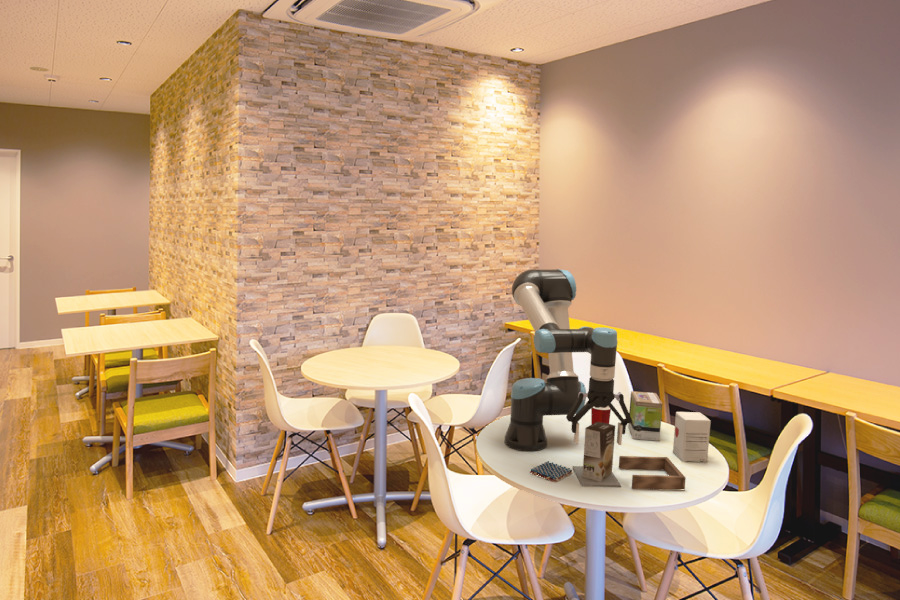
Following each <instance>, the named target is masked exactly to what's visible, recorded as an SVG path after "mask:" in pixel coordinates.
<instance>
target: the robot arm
mask: <svg viewBox="0 0 900 600" xmlns="http://www.w3.org/2000/svg"><path fill="white" fill-rule="evenodd" d="M511 295H512V298H513V300H514V302H515V303H516V304H517V305H518V306H520V307H521V308H522V310H523V312H524V314H525V315H526V318H527V319H528V321H529V323H530V325H531V327H532V329H533V330H534V332H535V333H534V335H533V344H534V349H535V351H537V352H538V353H541V354H542V353H544V354H548V365H549V366H548V367H549V374H548V375H547V377H546V378H545V379H546V381H545V380H544V379H542V378H538V377H535V378H534V377H526V378H521V379H518V380H516V381H515V382H514V383H513V384H512V386H511V394H510V422H509V424H508V427H507V430H506V433H505V435H504V444H505V446H508V447H509V448H511V449H514V450H518V451H523V452H534V451H540V450H544V449H545V448H547V445H548V440H547V439H548V438H547V435H546V431H545V427H544V416H545V417H546V416H564V415H566V417H565V418H566V420H567V421H568V422H571V429H570V430H571V433H573V434H574V435H573V442H574V444H575V445H578V444H579V435H580V434H579V433H580V423H579V421H580V420H581V419H582V418H584V416H585V415H586V414H587V413H588V412H589V411H590V410H591V409H592V408H593V407H596V408H599V407H602V408H606V407H607V406H609V407H610V409H611V411H612V412H613V414H614V415H615V416H616V417H617V419H618V420H619V421H620V422H618V423H617V432H616V433H617V434H616V444H617V445H618V446H622V444H623V443H622V439H623V435H625V434H626V430H627V429H626V428H627V426H628V423H632V419H631V417H630V414H629V410H628V407H627V406H626V404H625V400H624V399H625V398H624V395H623V393H622V392H620V391H619V392H618V393H614V390H615V379H614V378H615V377H616V376H615V373H616V361H617V348H618V332H617V330H616V329H614V328H610V327H595V328H593V327H591V326H590V327H589V326H581V327H579V328H570V317H569V307H571V305H572V301H574V299H575V298H576V295H577V283H576V280H575V277H574V275H573V274H572V273H571V272H570V270H566V269H535V268H534V269H533V268H531V269H527V270H524V271H522V272H521V273H519V274H518V276H516V277H515V279H514V281H513V283H512V286H511ZM573 353H588V354H590V361H589V362H590V364H589V367H590V368H589V376H590V377H589V381H588V392H587V389H586V387H585V383H584V382H582V381H579V376H578V375H577V374H576V372H574V362H573V361H574V360H573V359H574V358H573ZM586 399H587V400H588V401H586ZM614 399H615V400H616V401H617V402H618V404H619V406H620V408H621V410H622V413H623V415H624V417H625V418H623V416H622V415H621V414H620V412H619V411H618V410H617V409H616V408H615V406H614V405H613V404H612V402H613V401H614Z"/></svg>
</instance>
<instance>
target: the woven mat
mask: <svg viewBox="0 0 900 600" xmlns="http://www.w3.org/2000/svg"><path fill="white" fill-rule="evenodd" d="M530 473H532V474H531V475H533V474H534V475H533V476H536V475H538V474H539V475H538V476H537V477H539V476H541V477H543V478H542V479H544V478H545V480H547V481H549V480H550V482H552V483H555V484H556V483H557V482H560V481H561V480H563V479H564V478H566V477H568V476H569V477H570V476H571V475H573V469H571V468H568V467H566V466H562V464H560V465H559V464H558V463H554V462H550V461H549V460H548V461H544V463H542V462H541V464H539V465H536V466H535V467H534V466H533V467H532V468H531V469H530V471H529V474H530ZM541 477H540V478H541Z"/></svg>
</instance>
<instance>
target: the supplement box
mask: <svg viewBox="0 0 900 600" xmlns="http://www.w3.org/2000/svg"><path fill="white" fill-rule="evenodd" d="M674 421H675V422H674V432H673V433H674V434H673V448H672V453H673V452H674V453H675V454H676V455H677V456H678V457H679V458H680V459H681V460H682V461H703V462H702V463H707V462H708V456H709V455H708V453H709V446H710V445H709V442H710V433H711V423H712V422H711V421H712V420H710V419H709V418H708V417H707V416H706V415H704V414H703V413H701V412H698V411H696V412H694V411H693V412H692V411H691V412H690V411H676V412H675V420H674ZM674 453H673V454H674ZM675 454H674V455H675ZM676 455H675V456H676ZM677 456H676V457H677ZM678 457H677V458H678ZM679 458H678V459H679ZM680 459H679V460H680ZM681 460H680V461H681ZM682 461H681V462H682ZM706 461H707V462H706Z"/></svg>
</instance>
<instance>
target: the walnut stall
mask: <svg viewBox="0 0 900 600" xmlns="http://www.w3.org/2000/svg"><path fill="white" fill-rule="evenodd" d="M618 459H619V460H618V469H619V470H640V471H641V470H642V471H644V470H645V471H664V472H665V473H666V474H667V475H656V474H655V475H654V474H650V475H649V474H632V477H631V478H632V479H631V488H632V490H659V489H685V488H686V479H687V478H686V476H685V475H684V474H683V473H682V472H681V471H680V470H679V469H678V467H676V465H675V464H674V463H673V462H672V460H671V459H670V458H668V457H667V456H638V455H637V456H633V455H631V456H629V455H619V457H618ZM668 475H669V476H668Z"/></svg>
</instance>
